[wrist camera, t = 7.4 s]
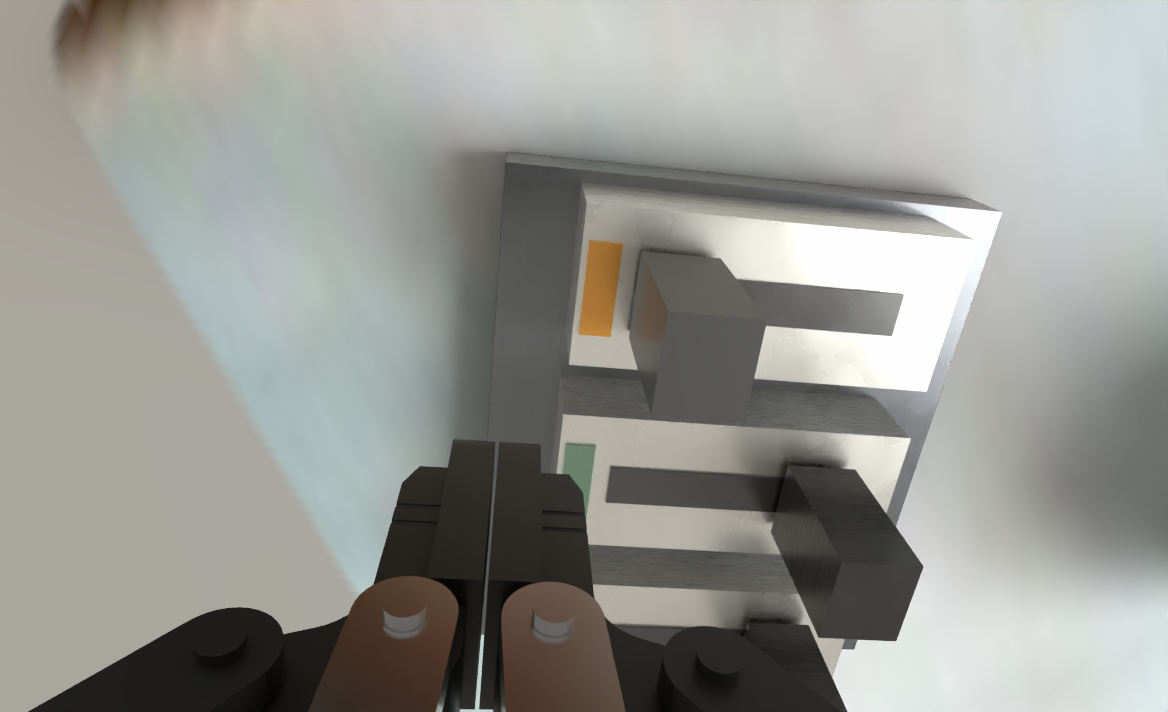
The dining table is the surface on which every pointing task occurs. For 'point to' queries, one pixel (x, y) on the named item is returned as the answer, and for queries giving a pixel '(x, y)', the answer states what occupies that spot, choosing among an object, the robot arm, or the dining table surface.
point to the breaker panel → (777, 402)
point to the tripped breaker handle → (694, 337)
